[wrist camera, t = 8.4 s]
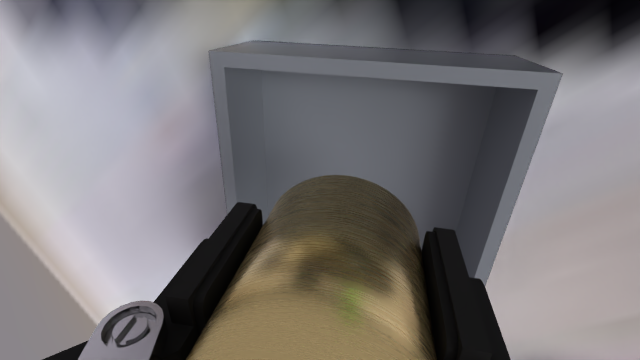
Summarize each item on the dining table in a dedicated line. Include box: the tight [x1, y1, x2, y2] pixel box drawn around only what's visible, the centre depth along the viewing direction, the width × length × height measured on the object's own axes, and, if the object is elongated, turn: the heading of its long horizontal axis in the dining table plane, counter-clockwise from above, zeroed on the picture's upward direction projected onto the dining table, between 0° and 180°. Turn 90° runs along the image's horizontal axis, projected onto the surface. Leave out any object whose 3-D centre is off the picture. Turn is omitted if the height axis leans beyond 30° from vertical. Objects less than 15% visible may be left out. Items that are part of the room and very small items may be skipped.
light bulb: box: [186, 175, 437, 360], centre depth 8 cm, size 5×5×7 cm
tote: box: [209, 41, 563, 286], centre depth 19 cm, size 17×13×5 cm
